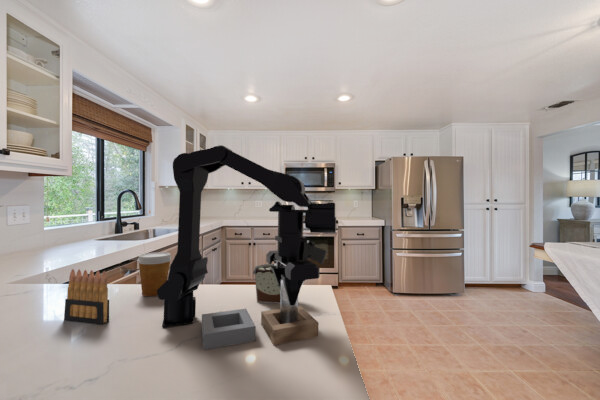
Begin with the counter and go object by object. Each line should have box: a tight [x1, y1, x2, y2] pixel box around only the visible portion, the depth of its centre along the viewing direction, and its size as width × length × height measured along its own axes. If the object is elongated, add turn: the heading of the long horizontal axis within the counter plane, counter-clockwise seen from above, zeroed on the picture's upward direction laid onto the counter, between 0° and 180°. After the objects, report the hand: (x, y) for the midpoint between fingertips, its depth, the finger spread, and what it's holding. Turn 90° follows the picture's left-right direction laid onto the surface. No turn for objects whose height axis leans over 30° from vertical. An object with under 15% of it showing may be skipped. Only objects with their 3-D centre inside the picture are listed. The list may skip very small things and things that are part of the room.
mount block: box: [260, 305, 320, 346], centre depth 59 cm, size 10×10×3 cm
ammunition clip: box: [63, 268, 110, 326], centre depth 62 cm, size 11×2×12 cm, turn 80°
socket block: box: [201, 308, 256, 351], centre depth 57 cm, size 10×10×3 cm
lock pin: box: [279, 279, 299, 324], centre depth 59 cm, size 4×4×9 cm
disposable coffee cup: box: [137, 251, 172, 297], centre depth 82 cm, size 10×10×12 cm
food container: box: [252, 263, 281, 304], centre depth 79 cm, size 12×6×10 cm, turn 84°
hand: (289, 301), depth 59 cm, fingers closed on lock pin, 4 cm apart
